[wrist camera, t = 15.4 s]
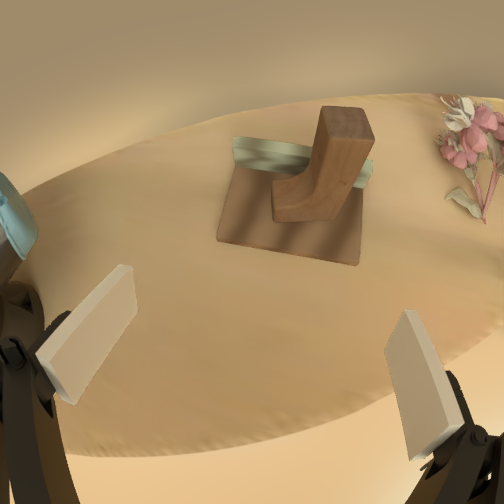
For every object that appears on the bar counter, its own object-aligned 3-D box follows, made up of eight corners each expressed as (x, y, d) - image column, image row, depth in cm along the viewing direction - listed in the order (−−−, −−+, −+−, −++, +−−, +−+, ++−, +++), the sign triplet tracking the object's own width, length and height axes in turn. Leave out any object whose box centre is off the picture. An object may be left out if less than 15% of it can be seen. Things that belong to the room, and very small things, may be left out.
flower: (509, 179, 42) (526, 80, 23) (514, 261, 34) (562, 149, 15) (434, 159, 53) (431, 58, 34) (421, 233, 45) (428, 111, 27)
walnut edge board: (217, 241, 41) (209, 222, 35) (238, 161, 45) (235, 136, 39) (355, 266, 39) (371, 251, 33) (360, 183, 43) (372, 160, 37)
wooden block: (272, 224, 40) (278, 138, 23) (270, 195, 41) (273, 103, 24) (335, 221, 40) (377, 140, 22) (330, 193, 41) (364, 106, 24)
